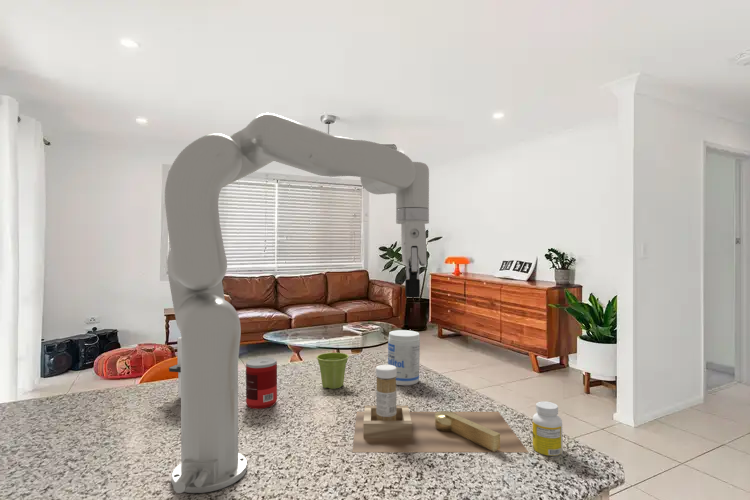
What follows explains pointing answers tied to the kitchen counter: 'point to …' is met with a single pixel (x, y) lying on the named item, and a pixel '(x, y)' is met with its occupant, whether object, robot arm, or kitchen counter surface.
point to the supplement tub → (404, 355)
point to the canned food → (261, 383)
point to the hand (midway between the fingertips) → (412, 296)
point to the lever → (467, 429)
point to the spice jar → (386, 392)
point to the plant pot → (332, 369)
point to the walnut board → (438, 436)
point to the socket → (387, 424)
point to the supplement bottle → (547, 430)
